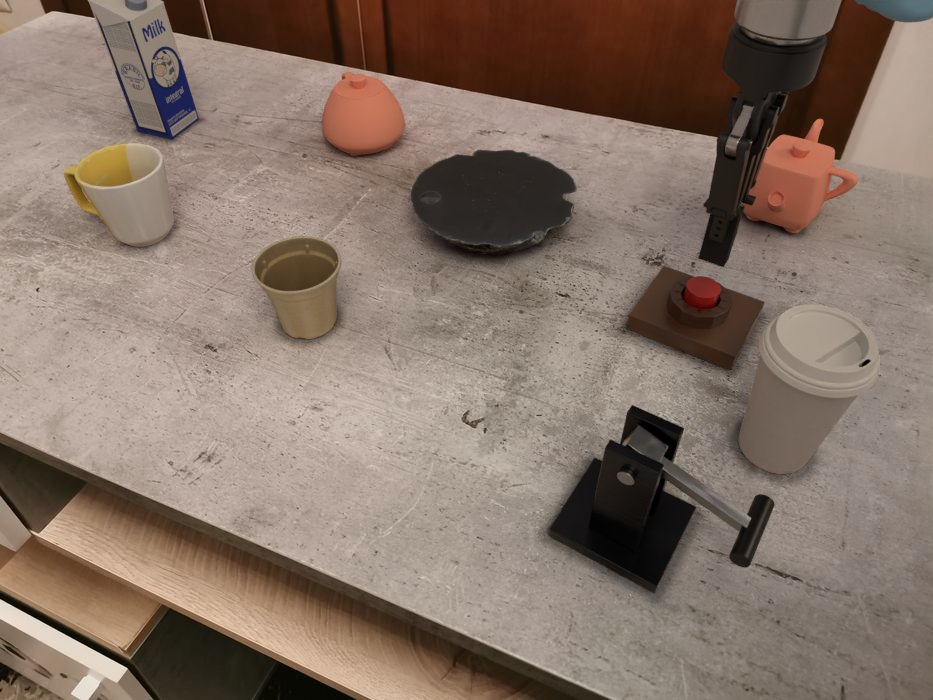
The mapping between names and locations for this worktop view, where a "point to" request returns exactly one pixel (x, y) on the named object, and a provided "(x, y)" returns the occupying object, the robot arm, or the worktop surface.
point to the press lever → (709, 498)
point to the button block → (695, 319)
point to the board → (493, 200)
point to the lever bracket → (627, 507)
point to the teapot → (796, 181)
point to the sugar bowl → (362, 115)
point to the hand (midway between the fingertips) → (713, 258)
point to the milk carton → (147, 64)
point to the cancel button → (702, 292)
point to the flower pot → (300, 283)
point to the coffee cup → (805, 384)
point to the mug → (125, 192)
